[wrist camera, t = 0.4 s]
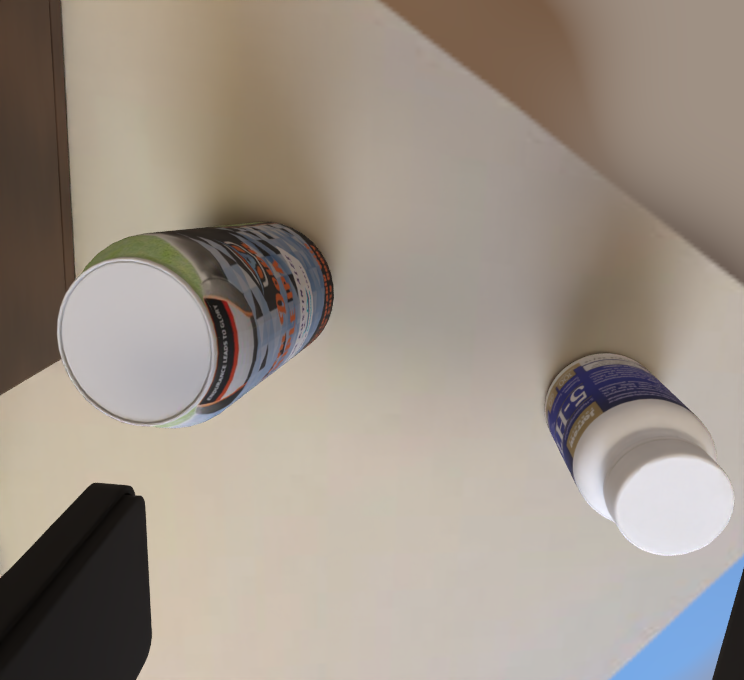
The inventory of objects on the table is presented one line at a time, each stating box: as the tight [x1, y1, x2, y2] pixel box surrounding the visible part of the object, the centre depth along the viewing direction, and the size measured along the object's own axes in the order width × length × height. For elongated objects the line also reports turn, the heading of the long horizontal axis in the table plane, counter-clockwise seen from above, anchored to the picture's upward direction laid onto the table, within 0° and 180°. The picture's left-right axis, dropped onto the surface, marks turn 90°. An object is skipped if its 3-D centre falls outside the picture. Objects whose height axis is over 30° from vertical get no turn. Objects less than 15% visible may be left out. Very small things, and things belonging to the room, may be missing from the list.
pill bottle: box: [545, 353, 735, 556], centre depth 25 cm, size 5×5×9 cm
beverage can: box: [57, 222, 334, 428], centre depth 23 cm, size 6×7×12 cm
